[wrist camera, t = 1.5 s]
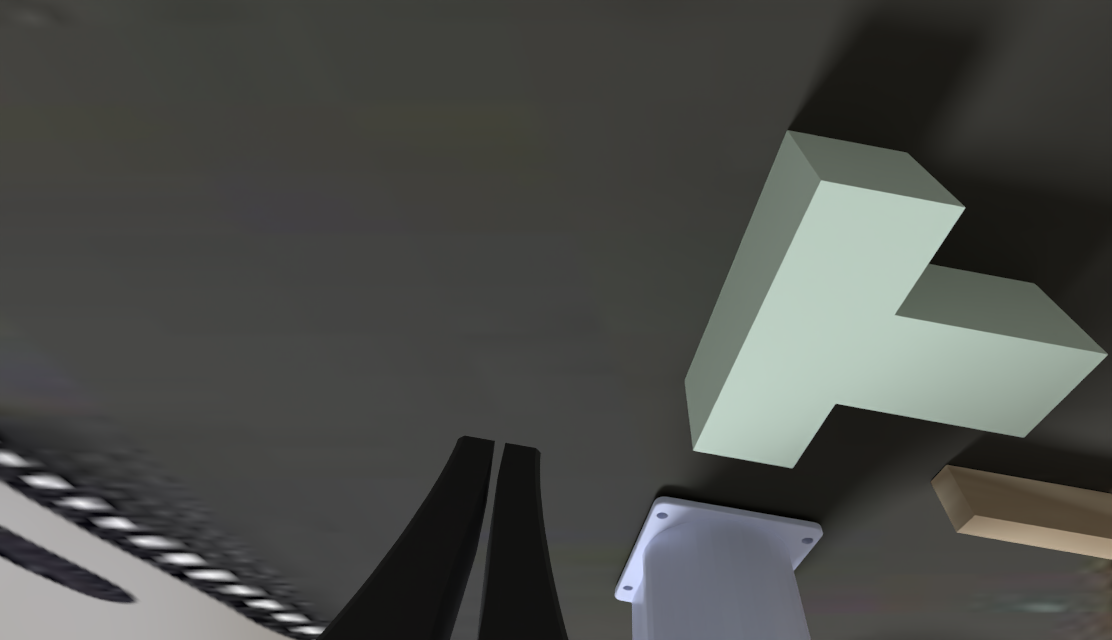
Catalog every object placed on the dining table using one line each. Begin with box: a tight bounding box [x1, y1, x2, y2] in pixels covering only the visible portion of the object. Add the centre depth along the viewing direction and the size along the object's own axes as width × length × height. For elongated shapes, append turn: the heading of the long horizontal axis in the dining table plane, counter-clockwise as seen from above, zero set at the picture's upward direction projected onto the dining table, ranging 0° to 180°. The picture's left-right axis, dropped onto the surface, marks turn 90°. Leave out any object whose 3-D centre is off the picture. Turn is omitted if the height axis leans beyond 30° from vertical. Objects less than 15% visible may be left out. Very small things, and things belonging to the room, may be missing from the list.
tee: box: [685, 130, 1108, 468], centre depth 18 cm, size 10×10×4 cm
